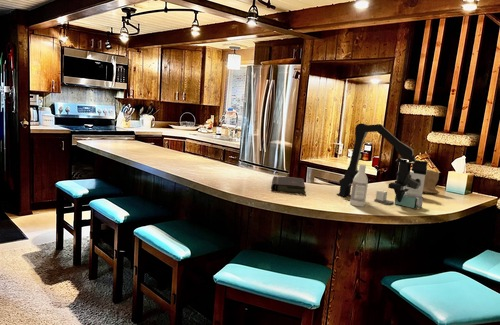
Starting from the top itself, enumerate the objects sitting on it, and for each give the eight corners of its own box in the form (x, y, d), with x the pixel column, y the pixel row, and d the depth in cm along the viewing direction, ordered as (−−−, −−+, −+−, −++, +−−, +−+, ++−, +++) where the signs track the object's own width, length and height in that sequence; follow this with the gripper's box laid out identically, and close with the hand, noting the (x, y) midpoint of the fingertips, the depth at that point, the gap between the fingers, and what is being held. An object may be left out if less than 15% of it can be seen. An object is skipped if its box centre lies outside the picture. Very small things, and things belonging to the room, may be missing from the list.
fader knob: (382, 200, 197) (384, 192, 196) (375, 199, 199) (376, 190, 199) (386, 200, 200) (387, 191, 199) (378, 198, 202) (380, 189, 202)
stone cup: (433, 192, 249) (436, 169, 247) (441, 195, 237) (445, 172, 235) (409, 189, 249) (413, 167, 247) (417, 193, 237) (420, 169, 235)
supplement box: (420, 196, 228) (424, 171, 226) (421, 199, 219) (425, 173, 217) (404, 193, 231) (407, 169, 229) (405, 196, 222) (409, 171, 220)
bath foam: (353, 202, 190) (359, 163, 188) (366, 205, 186) (372, 165, 183) (347, 204, 185) (353, 163, 182) (360, 207, 181) (366, 166, 178)
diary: (270, 192, 199) (271, 182, 199) (272, 183, 224) (272, 175, 223) (306, 195, 198) (307, 186, 197) (303, 186, 223) (304, 178, 222)
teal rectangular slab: (414, 208, 191) (416, 198, 190) (413, 208, 189) (414, 198, 188) (395, 203, 197) (396, 194, 197) (393, 203, 196) (395, 194, 195)
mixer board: (388, 204, 194) (389, 202, 193) (374, 201, 199) (374, 199, 199) (393, 203, 198) (394, 201, 198) (379, 200, 203) (379, 198, 203)
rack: (417, 209, 189) (418, 198, 188) (393, 203, 197) (395, 193, 196) (423, 207, 195) (425, 196, 194) (400, 202, 203) (401, 191, 202)
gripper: (413, 175, 179) (407, 207, 181) (426, 174, 192) (422, 204, 194) (390, 171, 186) (385, 202, 188) (405, 170, 200) (400, 199, 202)
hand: (399, 202), depth 193 cm, fingers closed
